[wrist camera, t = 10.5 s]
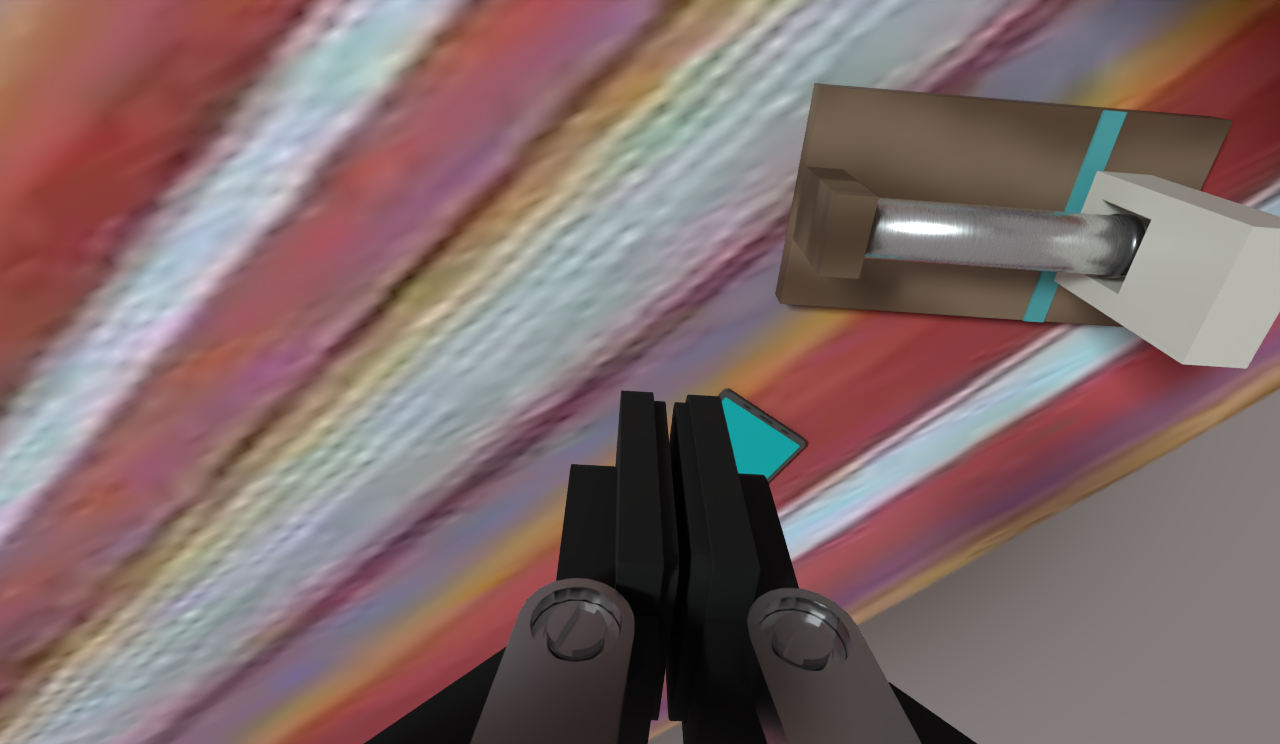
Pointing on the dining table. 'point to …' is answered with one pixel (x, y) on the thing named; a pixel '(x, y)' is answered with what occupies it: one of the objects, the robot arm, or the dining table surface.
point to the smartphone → (758, 437)
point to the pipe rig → (971, 201)
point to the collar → (1188, 271)
